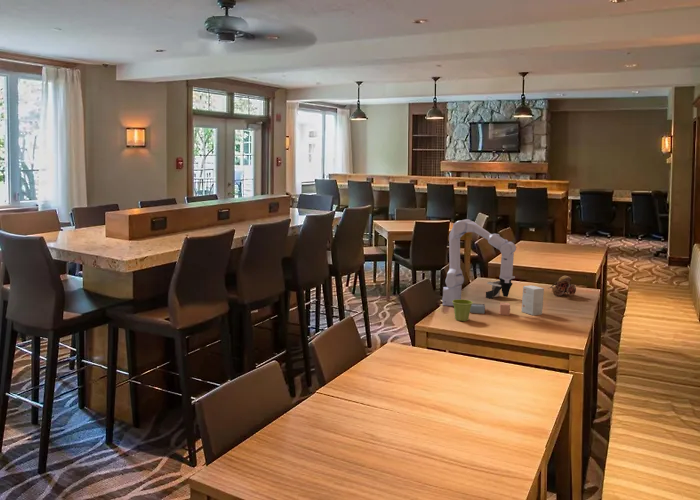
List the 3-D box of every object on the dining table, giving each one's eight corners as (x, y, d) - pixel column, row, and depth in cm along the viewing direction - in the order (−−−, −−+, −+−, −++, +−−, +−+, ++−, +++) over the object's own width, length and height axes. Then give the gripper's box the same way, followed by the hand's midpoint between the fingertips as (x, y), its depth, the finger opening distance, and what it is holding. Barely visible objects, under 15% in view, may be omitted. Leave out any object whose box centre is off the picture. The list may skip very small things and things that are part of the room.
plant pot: (459, 323, 280) (460, 304, 279) (447, 318, 288) (448, 300, 287) (475, 321, 284) (477, 302, 283) (463, 316, 293) (464, 298, 291)
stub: (500, 314, 297) (500, 304, 297) (499, 312, 302) (500, 302, 301) (509, 315, 297) (510, 305, 296) (508, 312, 302) (509, 302, 301)
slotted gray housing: (467, 312, 300) (468, 305, 299) (467, 309, 305) (467, 303, 304) (484, 313, 299) (484, 306, 298) (484, 311, 303) (484, 304, 303)
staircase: (485, 298, 333) (486, 276, 331) (496, 295, 339) (497, 274, 337) (498, 301, 326) (500, 279, 324) (510, 299, 333) (511, 276, 331)
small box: (542, 314, 300) (544, 288, 298) (532, 315, 297) (534, 289, 295) (530, 310, 307) (532, 285, 305) (520, 311, 304) (522, 285, 302)
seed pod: (545, 285, 336) (573, 279, 331) (543, 273, 351) (570, 268, 346) (551, 306, 340) (579, 300, 335) (549, 294, 354) (576, 288, 349)
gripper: (516, 270, 288) (514, 298, 291) (514, 265, 303) (512, 292, 305) (501, 269, 290) (499, 297, 292) (499, 264, 304) (497, 291, 306)
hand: (504, 294), depth 298 cm, fingers open, 7 cm apart
